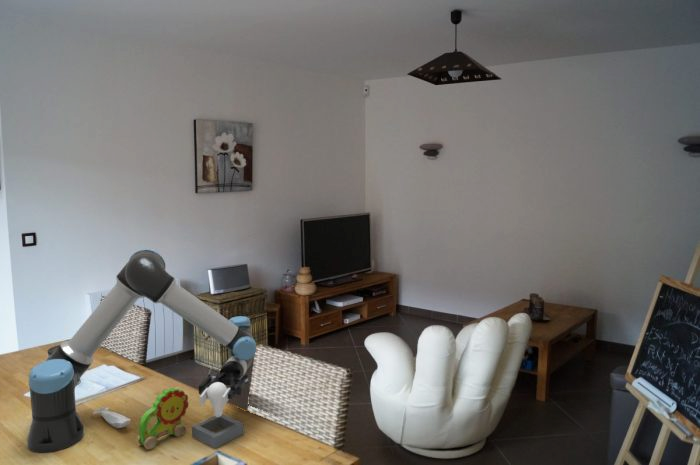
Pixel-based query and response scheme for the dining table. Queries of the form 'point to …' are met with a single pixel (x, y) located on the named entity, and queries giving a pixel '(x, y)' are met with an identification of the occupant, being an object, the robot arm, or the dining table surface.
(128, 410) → the dining table surface
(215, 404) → the lightbulb
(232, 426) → the frame
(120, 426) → the white fish figurine
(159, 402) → the toy lion
